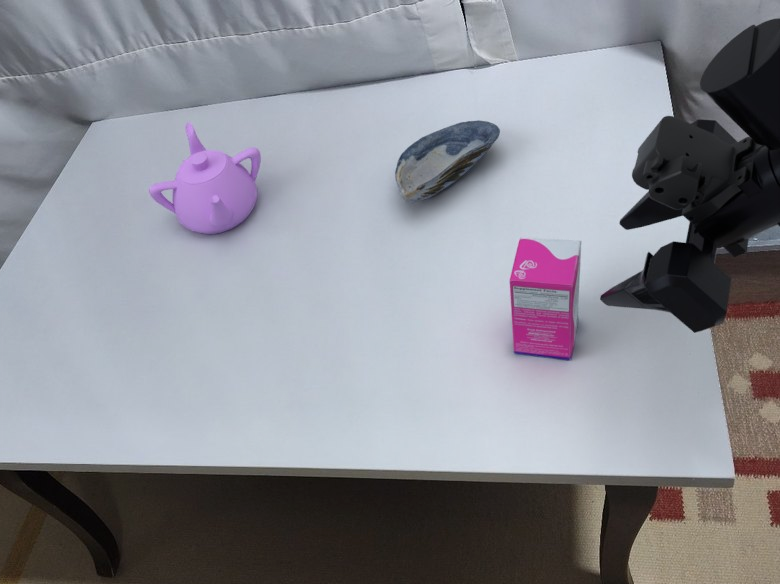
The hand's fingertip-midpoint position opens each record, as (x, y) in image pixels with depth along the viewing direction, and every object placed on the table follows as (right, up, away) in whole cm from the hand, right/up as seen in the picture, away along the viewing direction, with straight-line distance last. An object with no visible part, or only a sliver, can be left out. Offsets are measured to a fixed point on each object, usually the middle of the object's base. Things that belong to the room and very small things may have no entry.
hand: (613, 262), depth 66 cm
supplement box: (-2, -6, +12) cm, 14 cm away
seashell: (-9, +14, +30) cm, 34 cm away
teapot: (-38, +11, +36) cm, 54 cm away
